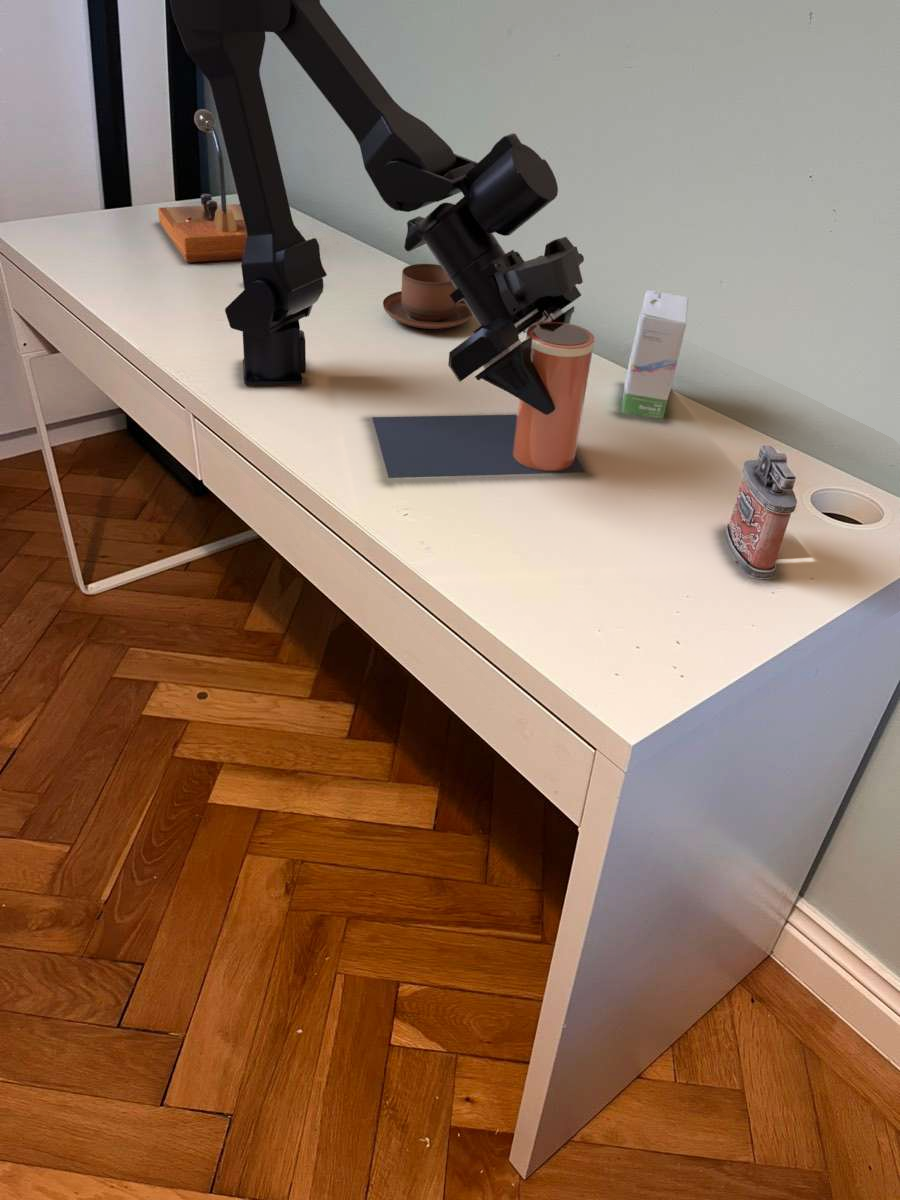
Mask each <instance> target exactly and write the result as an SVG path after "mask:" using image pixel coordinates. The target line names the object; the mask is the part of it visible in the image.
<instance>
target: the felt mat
mask: <svg viewBox="0 0 900 1200" xmlns="http://www.w3.org/2000/svg"><path fill="white" fill-rule="evenodd" d="M371 418H372V423H373V426H374V431H375V434H376V437H377V441H378V444H379V448H380V452H381V455H382V459H383V463H384V467H385V470H386V474H387V477H388V479H399V478H401V479H402V478H434V477H440V478H441V477H472V476H473V477H474V476H476V477H477V476H506V475H507V476H508V475H541V474H542V475H543V474H575V473H578V474H579V473H586V470H585V468H584V467H583V465H582V463H581V462H580V460H579V458H578V457H577V455H576V454H575V459H574V462H573V464H572V465H571V466H570V467H568V468H566V469H563V470H558V471H542V470H536V469H532V468H529V467H526V466H524V465H522V464H520V463H519V462H518V461H516V459H515V458H514V457H513V453H512V451H513V443H514V436H515V428H516V420H517V414H485V415H483V414H482V415H481V414H480V415H479V414H478V415H423V416H422V415H420V416H417V415H416V416H372V417H371Z"/></svg>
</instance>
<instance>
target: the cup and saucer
mask: <svg viewBox="0 0 900 1200" xmlns="http://www.w3.org/2000/svg"><path fill="white" fill-rule="evenodd" d="M455 290H456V288H455V287H454V285H453V284H452V282H451V280H450V279H449V278H448V276H447V275H446V273H445V272H444V270H443V269H442V267H441V266H440V264H435V263H415V264H410V265H408V266H405V267H404V268H403V269H402V270H401V290H400V291H396V292H393V293H391V294H388V295H387V296H386V297H384V299H383V300H382V307H383V310H384V312H385V313H386V314H387V315H388V316H389V317H390V318H392V319H393V320H394V321H397V322H399V323H400V324H403V325H406V326H410V327H414V328H418V329H428V330H443V329H449V328H455V327H458V326H460V325H463V324H464V323H465V324H466V322H468V321H469V320H470V319H472V317H473V314H472V312H471V311H470V309H469V308H468V306H467V305H466V303H465V302H464V300H461V301H459V302H458V303H456V304H455V303H454V301H453V300H452V298H451V297H450V294H451V293H453V292H454V291H455Z"/></svg>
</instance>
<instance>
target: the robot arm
mask: <svg viewBox="0 0 900 1200" xmlns="http://www.w3.org/2000/svg"><path fill="white" fill-rule="evenodd" d="M170 9H171V13H172V16H173V17H172V18H173V20H174V22H175V25H176V28H177V30H178V33H179V35H180V38H181V42H182V43H183V46H184V48H185V51H186V53H187V55H188V56H189V57H190V58H191V60H192V61H193V62H194V63H195V65H196V66H197V68H198V69H199V70H200V72H201V73H202V74H203V76H204V77H205V78H206V80H207V81H208V83H209V86H210V90H211V94H212V98H213V102H214V106H215V110H216V114H217V119H218V122H219V125H220V130H221V134H222V139H223V143H224V145H225V149H226V154H227V157H228V162H229V165H230V169H231V174H232V178H233V182H234V185H235V190H236V193H237V198H238V202H239V204H240V206H241V210H242V214H243V218H244V222H245V226H246V231H247V238H246V243H245V248H244V253H243V258H242V259H241V264H240V267H241V274H242V282H243V283H242V284H243V291H242V292H241V293H239V294H238V295H237V297H235V298H234V299H233V300H232V301H231V302H230V303H229V304H228V305H227V306H226V307H225V308H224V312H225V315H226V319H227V322H228V324H229V327H230V328H231V329H233V330H235V331H240V332H242V348H243V351H242V352H243V359H242V368H243V369H242V370H243V371H242V373H243V384H244V385H245V386H297V385H298V386H299V385H300V386H301V385H303V381H304V379H303V375H304V374H305V373H306V372H307V365H306V364H307V363H306V362H307V358H306V357H307V356H306V355H307V353H306V349H307V348H306V337H305V336H306V335H305V331H304V330H302V329H301V325H300V320H302V319H303V318H307V317H310V314H311V312H312V309H313V306H314V305H315V304H316V303H317V302H318V300H319V299H320V297H321V295H322V294H323V293H324V278H325V277H327V276H328V274H327V272H326V270H325V268H324V266H323V263H322V261H321V260H322V259H321V250H320V249H321V248H320V244H319V242H318V239H317V238H315V237H312V238H310V239H307V240H306V237H304V236H303V234H302V233H301V232H300V231H299V229H298V228H297V227H296V225H295V223H294V220H293V216H292V212H291V208H290V204H289V203H290V202H289V199H288V194H287V191H286V186H285V182H284V176H283V173H282V168H281V164H280V159H279V155H278V151H277V145H276V142H275V137H274V133H273V128H272V124H271V119H270V114H269V110H268V105H267V102H266V97H265V93H264V88H263V84H262V80H261V74H260V73H261V71H260V70H261V65H262V59H263V53H264V49H265V43H266V33H274V34H275V35H276V36H277V37H278V38H279V40H280V41H281V42H282V44H283V45H284V46H285V47H286V49H287V50H288V51H289V53H290V54H291V55H292V56H293V58H294V59H295V61H296V62H297V64H299V65H300V67H301V68H302V70H303V71H304V72H305V73H306V75H307V76H308V77H309V78H310V80H311V81H312V83H313V84H314V85H315V87H316V88H317V89H318V90H319V92H320V93H321V94H322V96H323V97H324V98H325V99H326V100H327V102H328V103H329V104H330V106H331V107H332V108H333V110H334V111H335V112H336V114H337V115H338V116H339V117H340V119H341V120H342V121H343V123H344V124H345V125H346V127H347V128H348V129H349V131H350V132H351V133H352V135H353V136H354V138H355V140H356V142H357V143H358V145H359V148H360V153H361V158H362V162H363V167H364V169H365V171H366V173H367V175H368V177H369V179H370V180H371V182H372V184H373V186H374V187H375V189H376V191H377V192H378V194H379V196H380V198H381V199H382V200H383V202H384V203H385V204H386V205H387V206H388V207H389V208H390V209H391V210H394V211H396V212H398V211H399V212H405V213H410V212H413V211H417V210H419V209H422V208H424V207H427V206H429V205H431V204H433V203H438V202H441V201H443V200H446V199H449V198H450V197H453V196H455V195H457V194H460V193H462V195H463V197H462V198H461V199H460V200H458V201H457V202H456V203H455V204H454V203H451V202H443V203H442V202H441V203H440V204H438V206H437V207H436V208H434V209H433V210H432V211H431V212H430V213H428V214H427V216H425V217H423V216H420V215H419V216H416V217H413V218H411V219H409V220H408V221H407V222H406V226H407V233H406V236H405V241H404V245H403V247H404V250H405V251H406V252H411V251H413V250H416V249H418V248H420V247H422V246H424V245H426V246H427V247H428V249H429V250H430V252H431V253H432V255H433V256H434V259H436V262H437V263H438V265H440V266H441V267H442V269H443V270H444V272H445V273H446V275H447V276H448V278H449V279H450V280H451V282H452V284H453V285H454V287H455V288H456V290H455V291H454V292H453V293H451V294H450V297H451V298H452V300H453V301H454V303H455V304H456V303H458V302H459V301H461V300H464V302H465V303H466V305H467V306H468V308H469V309H470V311H471V312H472V314H473V315H472V317H474V318H475V320H476V322H477V323H478V325H479V326H478V328H476V329H475V330H473V334H472V335H470V337H468V338H467V339H465V340H464V341H462V342H461V343H460V344H458V345H457V346H456V347H454V348H453V349H452V350H450V351H449V353H448V365H447V366H448V368H449V369H450V371H451V372H452V373H453V375H454V376H455V378H456V379H457V381H458V382H459V383H460V382H462V381H463V380H465V379H467V377H469V376H470V375H472V374H474V373H475V372H476V371H478V370H479V369H480V368H482V367H483V370H481V371H480V372H479V373H478V374H476V375H474V378H475V379H476V380H477V381H480V380H483V381H485V382H487V383H489V384H491V385H493V386H495V387H497V388H499V389H501V390H502V391H504V392H507V393H508V394H510V395H512V396H514V397H515V398H517V399H518V400H519V399H520V400H522V401H524V402H525V403H527V404H529V405H530V406H532V407H534V408H535V409H537V410H539V411H540V412H542V413H544V414H545V415H548V414H550V413H552V412H553V411H554V410H555V406H554V404H553V401H552V399H551V397H550V395H549V393H548V391H547V389H546V387H545V385H544V384H543V382H542V380H541V378H540V376H539V374H538V372H537V370H536V369H535V367H534V365H533V363H532V361H531V347H532V337H530V338H529V339H527V340H526V339H524V340H523V341H522V340H521V339H520V334H521V333H525V334H526V335H527V331H528V329H529V328H530V327H531V326H533V325H535V324H538V323H544V322H561V323H568V324H571V320H572V316H573V314H574V313H575V306H574V305H573V306H572V307H570V308H569V309H567V310H566V311H563V309H564V308H566V307H567V306H569V305H570V304H572V303H573V302H575V301H576V300H577V299H579V298H580V297H582V294H581V292H580V290H579V289H578V287H577V286H576V285H582V284H583V283H584V282H583V281H584V280H583V277H582V272H581V268H580V266H581V264H583V263H584V260H585V257H584V255H583V254H582V253H579V250H578V247H577V246H574V245H573V243H572V242H571V241H570V239H569V238H568V237H567V236H564V237H560V238H556V239H552V240H551V241H549V242H548V243H546V244H545V248H544V254H543V255H539V256H537V257H535V258H532V259H530V260H525V259H523V257H522V255H521V254H520V253H519V252H518V251H515V250H514V249H511V250H509V251H508V252H505V250H504V249H503V248H502V246H501V244H500V243H499V241H498V240H497V238H496V236H495V235H494V234H495V233H496V234H498V235H501V236H504V237H507V236H510V235H512V234H513V233H514V232H516V231H517V230H518V229H519V228H521V227H522V226H523V225H524V224H525V223H527V222H528V221H530V219H532V218H533V217H535V216H536V215H537V214H538V213H539V212H540V211H541V210H543V209H544V208H545V207H546V206H548V205H549V204H550V203H552V202H553V201H554V200H555V199H556V198H557V197H558V193H559V187H558V183H557V179H556V177H555V173H554V171H553V170H552V168H551V166H550V164H549V163H548V162H547V160H546V159H545V158H541V156H540V155H539V154H538V153H537V151H535V150H534V149H532V148H531V147H530V146H528V145H526V144H524V143H522V141H521V140H520V139H519V137H518V135H517V134H516V133H514V132H512V133H510V134H506V135H504V136H502V137H501V138H500V139H499V140H498V141H497V142H496V143H495V144H494V145H493V146H492V148H491V149H490V151H489V152H488V153H487V154H486V155H485V156H484V157H483V158H482V159H481V160H480V161H478V162H477V161H475V160H472V159H469V158H467V157H463V156H462V155H458V154H456V153H454V150H453V149H452V148H451V147H450V145H448V143H447V142H446V141H445V140H443V138H442V137H440V136H439V135H438V134H437V133H436V132H435V131H434V130H433V129H432V128H431V127H430V126H429V125H428V124H427V123H426V122H424V121H423V120H421V119H420V118H418V117H416V116H414V115H413V114H411V113H410V112H408V111H406V110H405V109H403V108H402V107H401V106H400V105H399V104H398V103H397V102H396V101H395V100H394V99H393V97H392V96H391V95H390V93H389V92H388V91H387V89H386V88H385V87H384V86H383V84H382V83H381V82H380V81H379V79H378V77H377V76H376V75H375V74H374V73H373V71H372V70H371V69H370V67H369V66H368V64H367V63H366V62H365V60H364V59H363V58H362V57H361V55H360V54H359V53H358V51H357V50H356V49H355V47H354V46H353V45H352V44H351V42H350V41H349V40H348V38H347V37H346V36H345V33H343V32H342V30H341V29H340V28H339V26H338V25H337V24H336V22H335V21H334V20H333V19H332V17H331V16H330V15H329V13H328V12H327V11H326V9H325V8H324V7H323V5H322V3H321V0H170Z"/></svg>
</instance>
